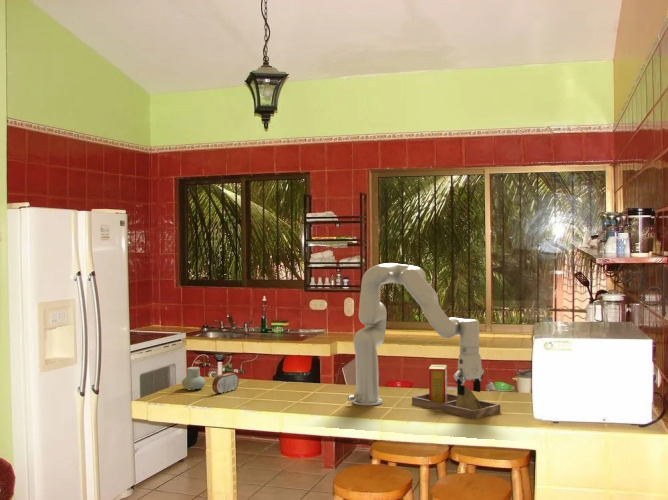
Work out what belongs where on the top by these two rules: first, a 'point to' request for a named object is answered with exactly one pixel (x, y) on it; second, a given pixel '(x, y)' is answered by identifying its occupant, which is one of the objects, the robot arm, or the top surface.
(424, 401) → the divided brown tray
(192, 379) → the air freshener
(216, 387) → the tin
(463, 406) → the rock
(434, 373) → the baking soda box
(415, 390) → the top surface
